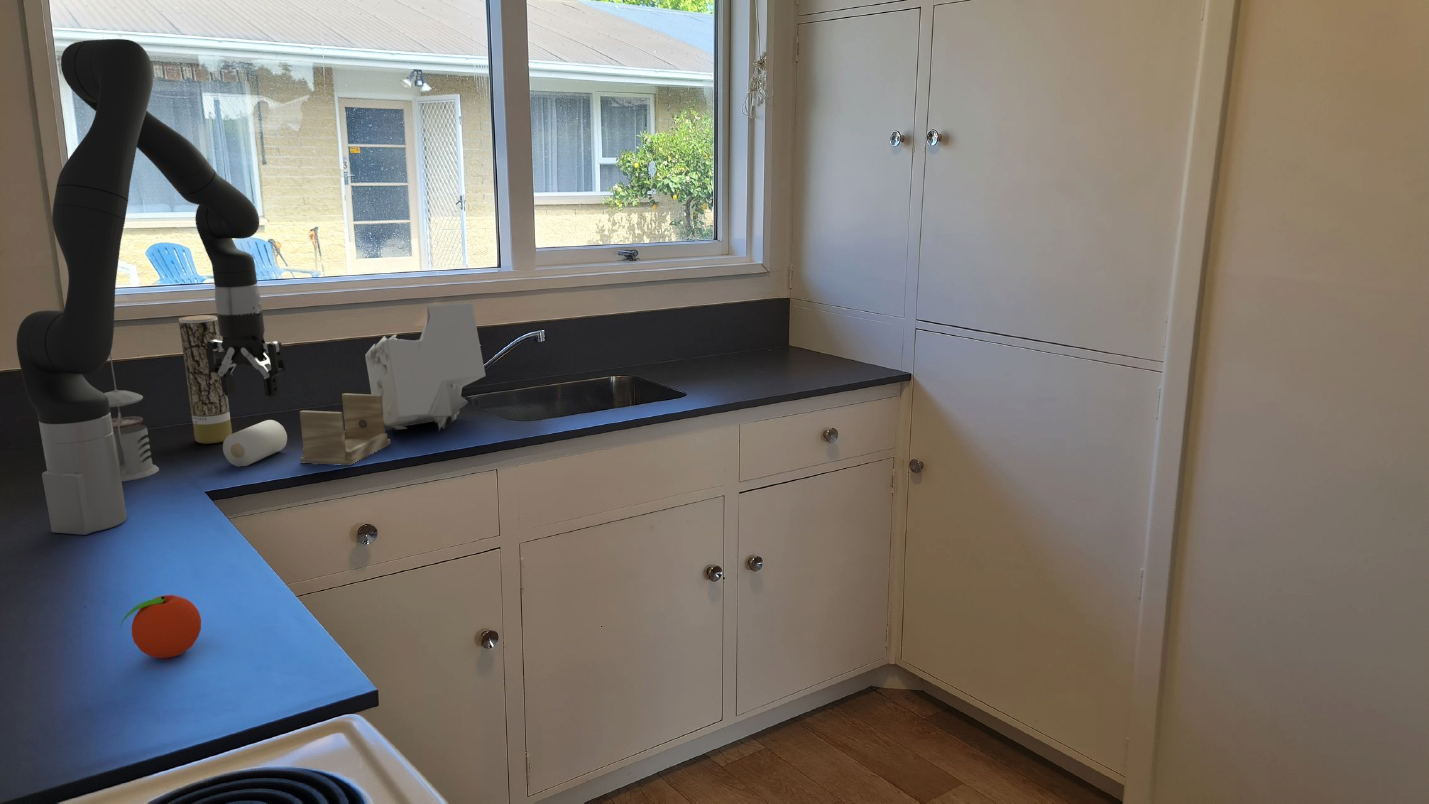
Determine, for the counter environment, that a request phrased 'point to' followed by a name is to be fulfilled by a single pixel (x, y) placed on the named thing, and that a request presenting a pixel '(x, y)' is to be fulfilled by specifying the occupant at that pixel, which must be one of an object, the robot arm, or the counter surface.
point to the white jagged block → (427, 368)
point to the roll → (254, 443)
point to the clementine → (165, 626)
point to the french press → (130, 437)
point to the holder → (337, 445)
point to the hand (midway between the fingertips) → (250, 395)
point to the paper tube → (204, 380)
